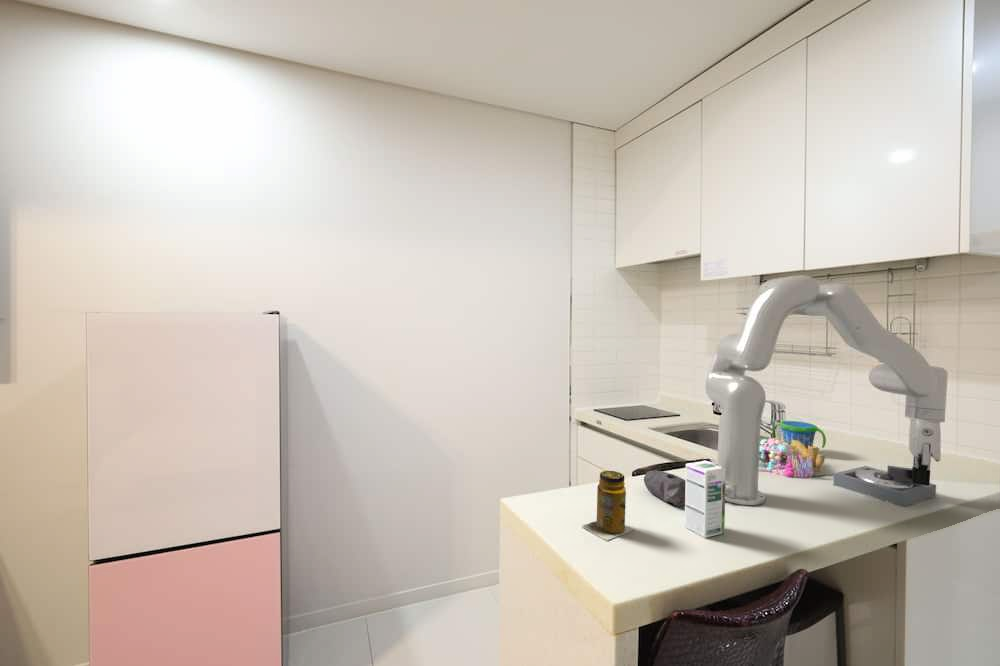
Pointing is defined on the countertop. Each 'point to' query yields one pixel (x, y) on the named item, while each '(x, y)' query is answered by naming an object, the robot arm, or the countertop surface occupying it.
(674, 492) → the perforated stone tool
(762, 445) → the pastel sphere sculpture
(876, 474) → the dial
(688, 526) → the syrup box
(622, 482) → the condiment
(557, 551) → the countertop surface
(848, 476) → the housing
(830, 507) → the countertop surface
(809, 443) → the snack cup
